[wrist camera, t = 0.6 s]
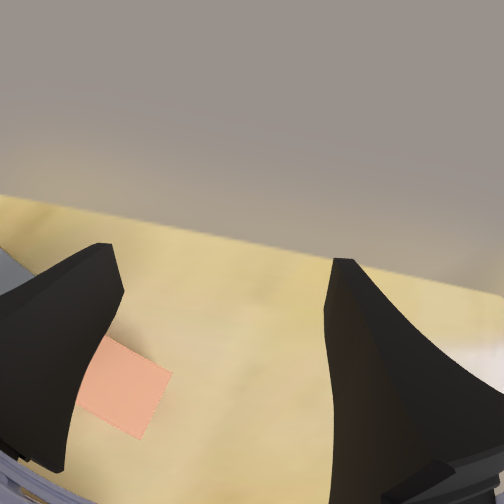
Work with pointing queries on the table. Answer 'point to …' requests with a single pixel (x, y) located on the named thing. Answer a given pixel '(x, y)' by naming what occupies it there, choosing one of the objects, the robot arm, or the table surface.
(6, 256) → the slate mat
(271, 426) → the table surface
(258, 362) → the table surface
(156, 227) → the table surface
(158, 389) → the terracotta stool
